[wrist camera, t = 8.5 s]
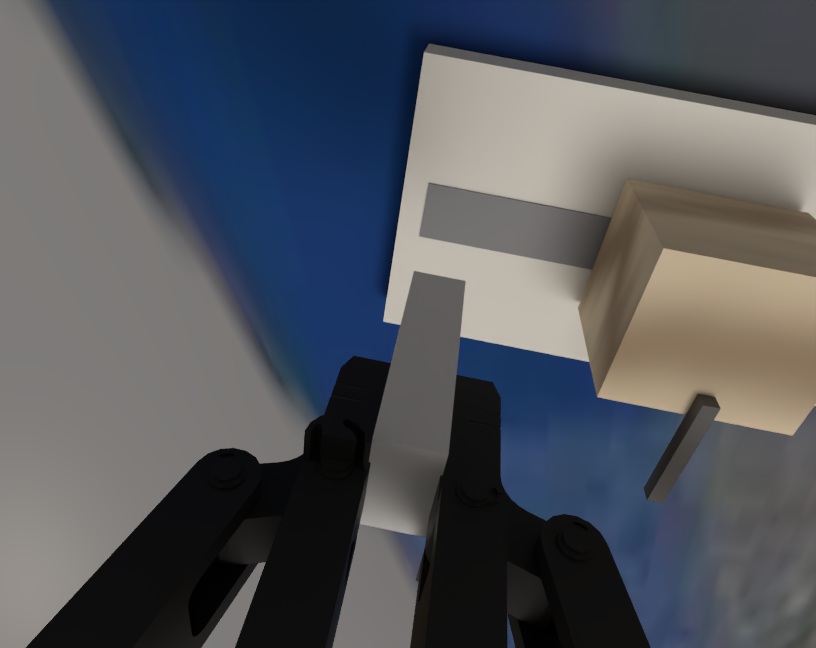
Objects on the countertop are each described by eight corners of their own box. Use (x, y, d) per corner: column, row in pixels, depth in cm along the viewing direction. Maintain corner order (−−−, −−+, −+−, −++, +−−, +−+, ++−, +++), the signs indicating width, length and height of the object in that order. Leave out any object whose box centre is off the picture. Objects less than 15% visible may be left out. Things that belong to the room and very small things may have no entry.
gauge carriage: (626, 178, 22) (668, 257, 17) (887, 227, 22) (1014, 324, 17) (551, 376, 28) (565, 483, 23) (758, 417, 28) (822, 535, 22)
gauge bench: (429, 43, 23) (391, 106, 15) (1203, 187, 22) (1621, 337, 14) (389, 299, 30) (348, 441, 21) (981, 415, 29) (1174, 607, 21)
